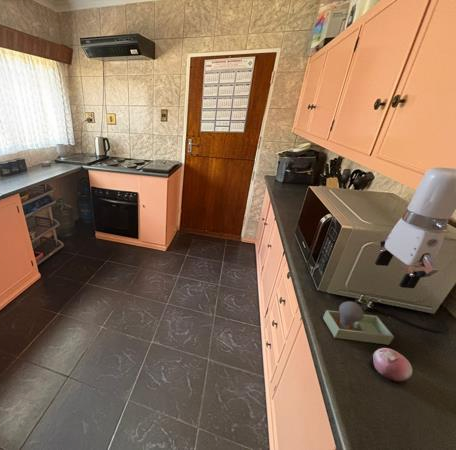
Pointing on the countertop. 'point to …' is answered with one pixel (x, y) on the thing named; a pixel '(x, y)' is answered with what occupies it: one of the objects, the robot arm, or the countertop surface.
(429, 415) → the countertop surface
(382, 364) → the onion
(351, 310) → the light bulb
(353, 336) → the tray
